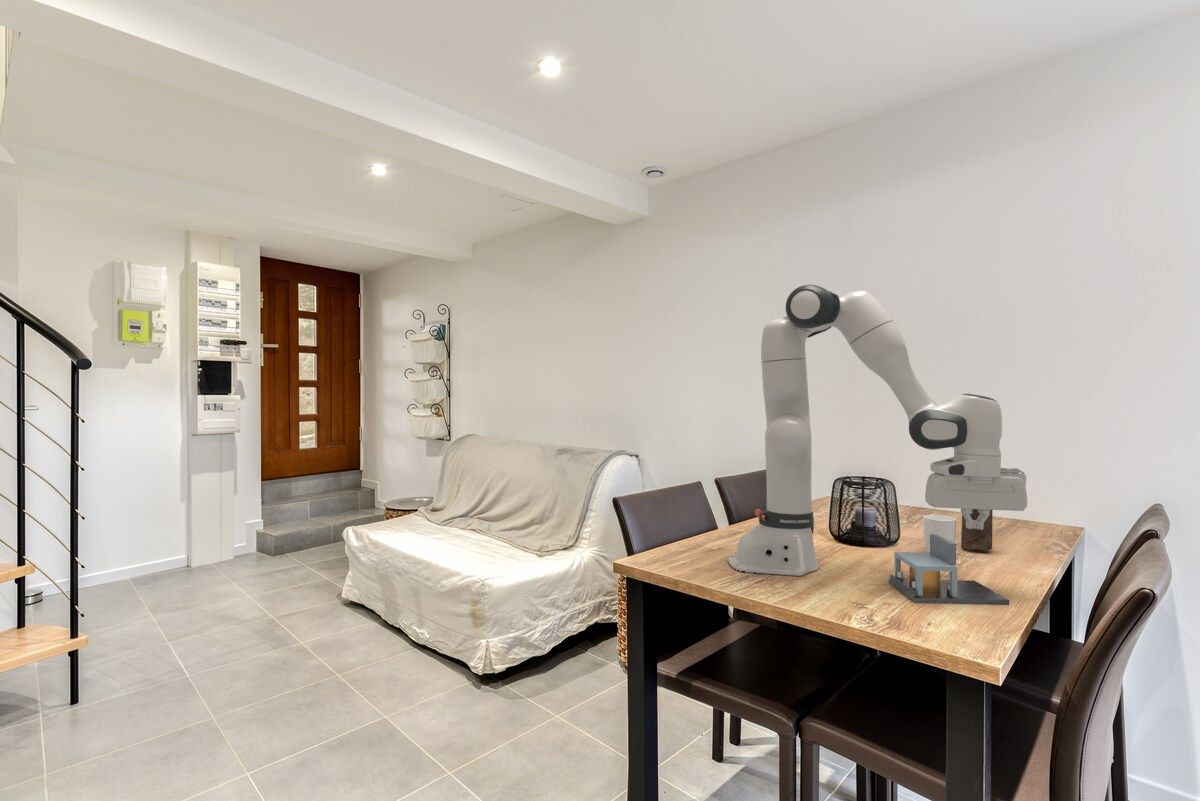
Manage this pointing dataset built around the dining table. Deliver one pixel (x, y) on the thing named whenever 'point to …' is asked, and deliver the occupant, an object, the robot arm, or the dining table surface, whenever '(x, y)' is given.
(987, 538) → the dark brown cylinder
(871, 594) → the dining table surface
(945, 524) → the white cup
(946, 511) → the dining table surface
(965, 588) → the base plate
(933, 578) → the brown block
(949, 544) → the grey miniature chair
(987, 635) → the dining table surface
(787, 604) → the dining table surface
